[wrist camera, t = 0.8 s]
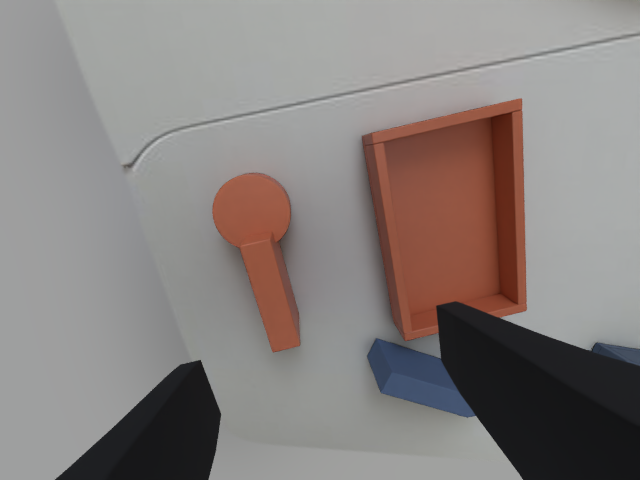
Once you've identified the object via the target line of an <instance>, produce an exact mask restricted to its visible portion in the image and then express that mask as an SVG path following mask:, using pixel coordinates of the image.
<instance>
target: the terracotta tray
mask: <svg viewBox="0 0 640 480" xmlns="http://www.w3.org/2000/svg"><path fill="white" fill-rule="evenodd" d="M362 141H363V146H364V152H365V158H366V164H367V170H368V176H369V181H370V187H371V193H372V199H373V205H374V211H375V216H376V222H377V228H378V234H379V240H380V246H381V251H382V257H383V263H384V269H385V275H386V280H387V286H388V292H389V298H390V304H391V310H392V315H393V321H394V324H395V326H396V327H397V329H398V330H399V332H400V334H401V335H402V337H403V339H404V340H405V341H408V340H412V339H416V338H420V337H424V336H428V335H432V334H436V333H439V331H438V320H437V310H436V306H437V305H441V304H445V303H450V302H454V301H457V302H460V303H463V304H465V305H468V306H471V307H473V308H476V309H478V310H481V311H483V312H486V313H488V314H491V315H493V316H496V317H498V318H500V317H503V316H507V315H511V314H515V313H519V312H523V311H526V310H527V304H526V257H525V213H524V168H523V124H522V99H516V100H512V101H507V102H503V103H499V104H494V105H490V106H486V107H481V108H477V109H473V110H468V111H464V112H460V113H456V114H451V115H447V116H443V117H438V118H434V119H430V120H425V121H421V122H417V123H412V124H408V125H404V126H400V127H395V128H391V129H387V130H382V131H378V132H374V133H370V134H367V135H363V136H362Z"/></svg>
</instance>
